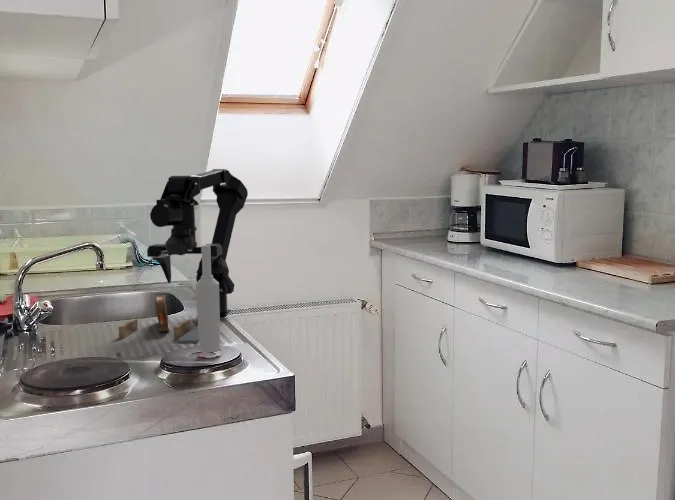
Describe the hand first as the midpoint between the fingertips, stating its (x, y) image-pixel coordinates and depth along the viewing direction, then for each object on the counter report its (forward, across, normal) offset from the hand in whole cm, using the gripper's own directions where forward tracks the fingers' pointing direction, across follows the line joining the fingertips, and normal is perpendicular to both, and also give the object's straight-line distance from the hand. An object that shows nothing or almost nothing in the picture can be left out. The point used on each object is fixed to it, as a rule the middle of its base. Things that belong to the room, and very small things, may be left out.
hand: (186, 282), depth 184 cm
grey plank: (+12, +5, -8) cm, 15 cm away
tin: (+12, -6, -1) cm, 14 cm away
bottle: (+12, +14, -27) cm, 33 cm away
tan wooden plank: (+12, -6, -8) cm, 16 cm away
